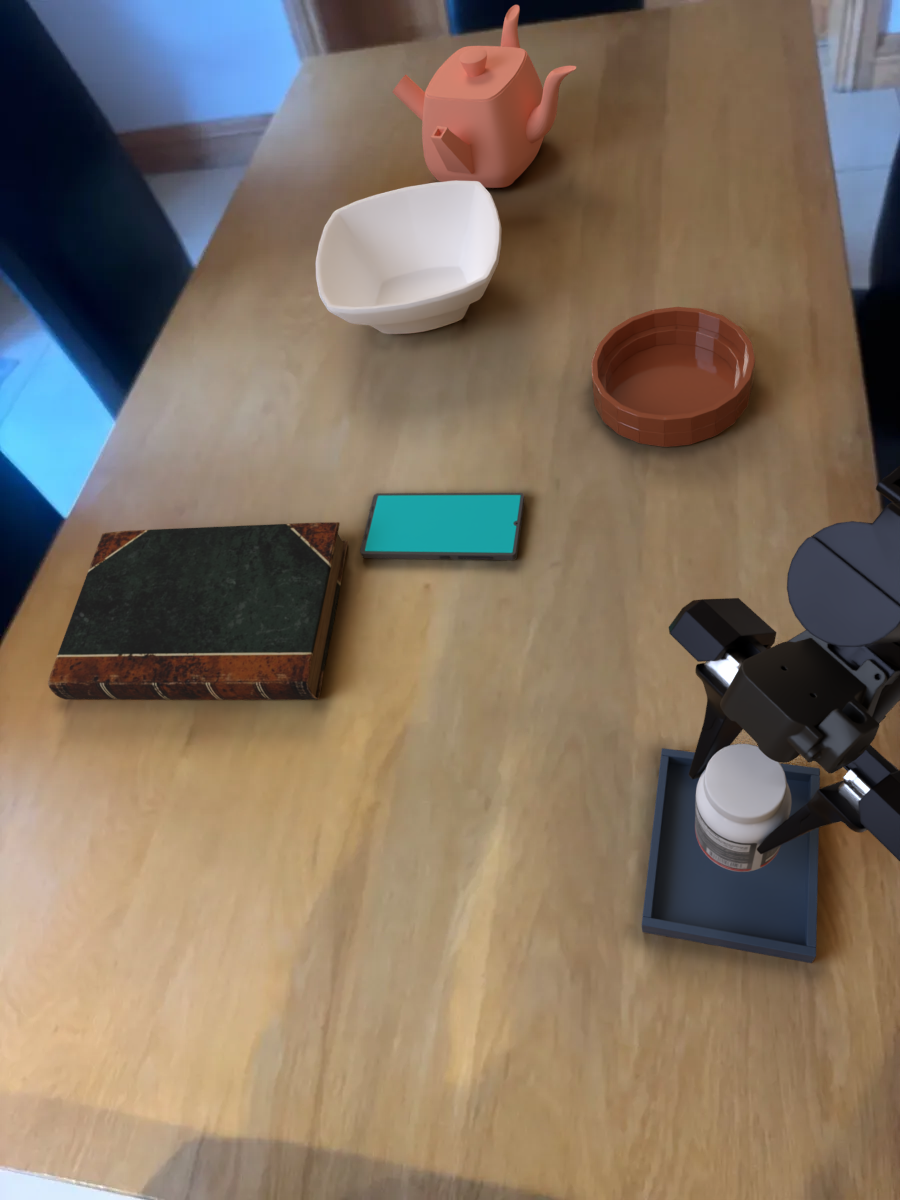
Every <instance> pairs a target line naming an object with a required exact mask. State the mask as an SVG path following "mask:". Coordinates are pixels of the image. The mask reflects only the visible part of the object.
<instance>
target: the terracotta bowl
mask: <svg viewBox="0 0 900 1200" xmlns="http://www.w3.org/2000/svg"><path fill="white" fill-rule="evenodd" d="M590 365H591V381H592V392H593V393H592V394H593V403H594V404H593V405H594V407H595V409H596V411H597V412H598V413H597V414H599V416H600V418H601V420H602V422H603V423H604V424H606V426H608V427H609V428H610V429H611V430H613V431H614V432H615V433H616V434H617V435H619V436H621V437H623V438H626V439H629V440H631V441H633V442H635V443H638V444H641V445H650V446H655V447H656V446H657V447H663V448H668V447H679V446H690V445H694V444H696V443H698V442H702V441H705V440H708V439H711V438H714V437H716V436H717V435H719V434H721V433H723V431H726V429H728V428H730V427H732V425H734V424H735V423H736V422H737V421H738V419H739V418H740V417H741V415H742V414H744V412H745V410H746V409H747V408H748V406H749V402H750V399H751V395H752V391H753V387H754V386H753V385H754V377H755V376H754V375H755V366H756V357H755V352H754V346H753V342H752V341H751V340H750V338H749V337H748V335H747V334H746V333H745V331H744V330H743V329H742V328H741V326H739V325H738V324H736V323H734V322H733V321H732V320H730V319H729V318H727V317H726V316H725V315H722V314H719V313H716V312H713V311H710V310H707V309H705V308H699V307H698V308H697V307H687V306H686V307H685V306H684V307H683V306H673V307H664V308H656V309H650V310H648V311H645V312H642V313H639V314H636V315H633V316H630V317H629V318H627V319H625V320H624V321H623V322H621V323H619V324H618V325H615V326H614V327H613V328H611V329H610V331H608V333H607V334H606V335H605V336H604V337H603V338H602V340H601V341H600V342H599V343H598V344H597V347H596V348H595V351H594V354H593V356H592V359H591V363H590Z"/></svg>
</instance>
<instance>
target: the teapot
mask: <svg viewBox="0 0 900 1200" xmlns="http://www.w3.org/2000/svg"><path fill="white" fill-rule="evenodd" d="M520 12H521V9H520V5H519V4H514V5H512V6H511V7H510V8H509V9H508V10H507V12H506V14H505V17H504V21H503V25H502V33H501V40H500V45H498V46H497V45H466V46H463V47H461V48H459V49H458V50H456V51H454V52H453V53H452V54H451V55H450V56H449V57H448V58H446V60H445V61H444V62H443V63H442V64H441V65H440V67H439V68H437V70H436V71H435V73H434V74H433V76H432V78H431V79H430V81H429V83H428V84H427V86H426V89H425V90H423V89H422V88H421V87H420V86H419V85H418V84H417V83H416V82H415V81H414V80H412V79H411V77H409V76H408V75H407V74H404V75H403V77H402V78H401V79H400V80H399V81H398V83H397V84H396V85H395V87H394V88H393V90H392V94H393V95H395V96H396V97H397V98H398V99H399V101H401V102H402V103H403V104H404V105H405V106H406V107H407V108H408V110H410V111H411V112H412V113H413V114H415V116H417V118H418V119H420V120H421V121H422V122H421V123H422V125H421V127H422V128H421V135H422V136H421V138H422V139H421V140H422V149H423V157H424V161H425V165H426V167H427V169H428V170H429V172H430V173H431V174H432V176H433V177H434V178H435V179H436V180H437V182H446V181H478V182H480V183H481V184H482V185H483V186H484V187H485V189H486V188H487V189H488V188H489V189H491V188H492V189H494V188H497V189H498V188H499V189H500V188H507V187H509V186H511V185H512V184H514V182H515V181H516V180H517V179H518V178H519V177H520V176H521V175H522V174H523V173H524V172H525V171H526V170H527V168H529V166H530V165H531V164H532V163H533V161H534V160H535V159H536V157H537V155H538V153H539V151H540V149H541V146H542V143H543V142H544V141H543V140H544V138H545V136H546V135H547V134H548V133H549V132H550V131H551V129H552V127H553V126H554V124H555V121H556V119H557V118H556V117H557V113H558V104H559V93H560V86H561V83H562V82H563V80H564V79H565V78H566V77H567V76H568V75H570V74H572V73H573V72H574V71H576V69H577V65H563V66H559V67H556V68H554V69H552V70H551V71H550V72H549V73H548V74H547V76H546V78H545V80H544V84H543V83H542V81H541V79H540V77H539V74H538V72H537V70H536V67H535V66H534V63H533V61H532V59H531V57H530V55H529V53H528V52H527V50H526V49H524V48H522V47H521V45H520V39H519V31H518V28H519V27H518V25H519V16H520ZM542 84H543V85H542Z"/></svg>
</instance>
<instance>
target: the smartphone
mask: <svg viewBox="0 0 900 1200" xmlns="http://www.w3.org/2000/svg"><path fill="white" fill-rule="evenodd" d="M525 501H526V500H525V495H524V493H523V492H394V493H393V492H392V493H391V492H388V493H387V492H386V493H385V492H384V493H383V492H382V493H381V492H380V493H379V492H378V493H375V494H373V496H372V500H371V504H370V508H369V513H368V516H367V521H366V524H365V528H364V531H363V532H364V533H363V537H362V540H361V544H360V549H359V553H360V554H361V557H362V558H363V559H393V560H395V559H399V560H413V559H414V560H461V561H462V560H463V561H465V560H466V561H468V560H469V561H470V560H472V561H477V560H478V561H480V560H481V561H515V560H516V559H517V558H518V553H519V552H518V551H519V544H520V536H521V530H522V524H523V515H524V508H525Z"/></svg>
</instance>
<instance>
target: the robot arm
mask: <svg viewBox="0 0 900 1200" xmlns="http://www.w3.org/2000/svg"><path fill="white" fill-rule="evenodd" d="M875 491H877V492H878V493H879V494H881V495H882V496H883V497H884V498H886V499H888V500H889V501H891V502H890V503H888V504H887V505H886V506H885V507H884V508H883V510H882V511H881V512H880V513H879V514H878V515H877V517H876V518H875V519H874V520H873V522H864V521H855V520H851V521H843V522H836V523H833V524H831V525H828V526H826V527H823V528H821V529H820V530H818V531H817V532H816V533H814V534H812V535H811V536H808V537H806V539H804V541H803V542H802V543H801V544H800V545H799V546H798V548H797V549H796V552H795V553H794V555H793V557H792V559H791V561H790V564H789V568H788V571H787V575H786V576H787V578H786V593H787V597H788V603H789V605H790V607H791V610H792V612H793V614H794V616H795V618H796V619H797V620H798V622H799V623H800V625H801V626H802V627H803V629H804V630H803V631H801V632H800V633H798V634H796V635H795V636H793V637H792V638H790V639H789V640H787V641H781V642H780V643H778V644H776V643H775V642H776V637H777V631H775V629H773V628H772V627H771V626H770V625H769V624H768V622H766V621H764V619H763V618H761V617H760V615H758V614H757V613H756V612H755V611H754V610H752V609H751V608H750V606H748V605H747V604H746V603H745V602H743V600H741V599H740V598H739V597H732V598H731V597H729V598H728V597H727V598H726V597H725V598H702V599H701V598H700V599H693V600H691V601H690V602H689V603H686V605H684V606H683V607H682V608H681V609H680V610H679V612H678V613H677V614H676V616H675V618H674V619H673V620H672V621H671V623H670V624H669V626H668V633H669V635H670V636H671V637H672V638H673V639H674V640H675V641H676V642H677V643H678V644H679V645H680V646H681V647H682V648H683V649H685V651H686V652H687V653H688V654H689V655H690V656H691V657H692V658H694V660H696V662H697V664H696V665H695V670H694V671H695V675H696V676H697V678H699V680H701V682H702V684H703V687H704V691H705V694H706V699H707V700H706V706H705V713H704V719H703V723H702V727H701V731H700V733H699V737H698V741H697V743H696V747H695V751H694V752H695V754H694V757H693V761H692V764H691V768H690V771H689V776H690V777H691V778H692V779H697V778H700V776H701V774H702V773H703V772H704V770H705V769H706V767H707V765H708V762H709V761H710V759H711V758H712V757H713V756H714V755H715V754H716V753H717V752H718V751H719V750H721V749H723V748H724V747H727V746H729V745H733V742H734V741H735V740H736V739H737V738H738V737H739V735H740V734H741V733H742V731H744V732H745V733H746V734H747V735H748V736H749V737H750V738H751V739H752V740H753V741H754V742H755V743H756V744H757V745H756V746H758V748H759V749H760V750H761V751H762V753H764V754H765V755H766V756H767V757H768V758H770V759H771V760H774V761H776V762H779V763H782V764H788V763H790V762H792V761H793V760H795V759H797V758H798V757H800V756H801V757H802V758H804V760H805V761H806V762H807V763H809V764H810V763H812V762H815V763H816V764H818V765H819V766H820V767H821V768H822V769H823V770H824V771H825V772H826V773H828V774H834V773H836V772H837V771H839V770H842V769H844V770H845V771H846V773H845V775H844V776H843V777H842V780H840V781H837V782H835V783H831V784H829V785H826V786H824V787H820V789H818V790H817V791H816V793H815V794H814V796H813V797H812V798H811V800H810V801H809V802H808V803H807V804H805V805H804V806H803V807H802V808H800V809H799V810H798V811H797V812H796V813H794V814H793V815H792V816H791V817H790V818H788V819H787V820H786V821H785V822H783V823H782V824H781V825H780V826H779V827H777V828H776V829H775V830H774V831H772V832H771V833H770V834H769V835H768V836H767V837H766V838H765V839H764V841H763V842H762V843H761V844H760V845H759V847H758V848H757V851H758V852H759V853H760V854H763V853H766V852H768V851H770V850H772V849H774V848H776V847H778V846H781V845H783V844H785V843H787V842H789V841H791V840H793V839H795V838H797V837H799V836H801V835H803V834H805V833H808V832H810V831H812V830H814V829H816V828H819V829H820V828H821V827H825V826H829V825H832V824H836V823H843V824H844V825H845V826H846V827H847V828H848V829H850V831H853V832H855V833H859V834H861V833H864V832H866V831H868V832H869V833H870V835H872V836H873V837H874V838H875V839H876V840H877V841H878V842H879V843H880V844H881V845H882V846H883V847H884V848H885V849H886V850H887V851H888V852H889V853H890V854H891V855H892V856H893V857H895V859H896V860H897V861H898V862H900V769H899V768H898V767H896V766H895V764H893V763H892V762H891V761H889V760H888V759H886V758H885V757H884V756H883V755H882V754H881V753H880V752H879V750H877V749H876V748H874V746H872V745H871V744H872V743H873V741H874V740H875V738H876V736H877V733H878V731H879V728H880V724H881V723H882V722H883V721H884V719H885V718H886V717H887V716H886V715H887V714H888V713H890V711H891V710H892V709H893V708H894V707H895V706H896V705H897V704H898V703H899V702H900V465H898V466H897V467H896V468H894V469H893V470H892V471H891V472H890V473H888V474H887V475H886V476H885V477H883V478H881V480H880V481H879V482H878V483H877V485H876V486H875ZM774 644H776V645H774ZM773 645H774V646H773ZM698 662H700V663H698Z"/></svg>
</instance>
